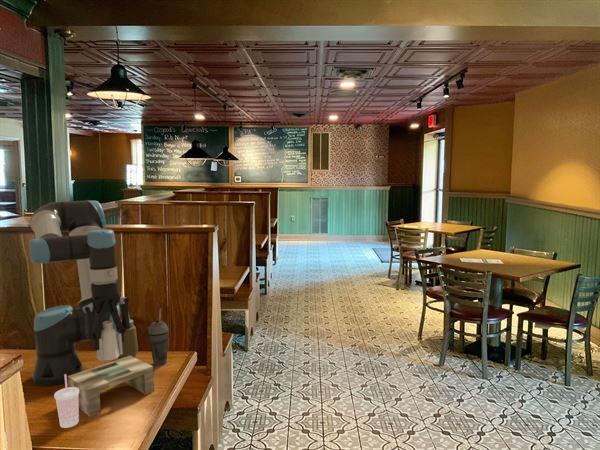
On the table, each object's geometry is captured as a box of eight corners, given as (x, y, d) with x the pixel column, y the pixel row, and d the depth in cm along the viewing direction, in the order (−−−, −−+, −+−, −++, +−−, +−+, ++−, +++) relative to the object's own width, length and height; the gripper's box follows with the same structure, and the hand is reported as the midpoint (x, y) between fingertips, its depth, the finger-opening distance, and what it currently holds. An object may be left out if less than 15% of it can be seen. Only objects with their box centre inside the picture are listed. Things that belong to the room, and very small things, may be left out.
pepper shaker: (99, 361, 136) (96, 325, 135) (101, 355, 141) (99, 320, 140) (118, 359, 137) (116, 323, 136) (120, 352, 142) (118, 318, 141)
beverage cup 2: (149, 360, 167) (146, 307, 165) (170, 357, 169) (167, 305, 167) (149, 368, 160) (145, 313, 158) (171, 365, 163) (167, 310, 160)
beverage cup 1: (85, 422, 126) (81, 373, 124) (62, 432, 121) (57, 381, 120) (76, 415, 130) (72, 367, 128) (53, 424, 125) (48, 375, 124)
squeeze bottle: (130, 364, 164) (130, 315, 162) (109, 361, 166) (110, 313, 164) (142, 356, 172) (142, 309, 170) (122, 353, 174) (123, 307, 172)
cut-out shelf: (69, 401, 138) (67, 376, 137) (132, 378, 153) (130, 355, 152) (90, 417, 129) (88, 389, 128) (154, 390, 143) (152, 366, 142)
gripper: (78, 289, 127) (84, 369, 130) (139, 277, 141) (144, 350, 143) (67, 285, 132) (73, 363, 135) (127, 274, 146) (132, 345, 148)
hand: (110, 356), depth 139 cm, fingers closed on pepper shaker, 5 cm apart
